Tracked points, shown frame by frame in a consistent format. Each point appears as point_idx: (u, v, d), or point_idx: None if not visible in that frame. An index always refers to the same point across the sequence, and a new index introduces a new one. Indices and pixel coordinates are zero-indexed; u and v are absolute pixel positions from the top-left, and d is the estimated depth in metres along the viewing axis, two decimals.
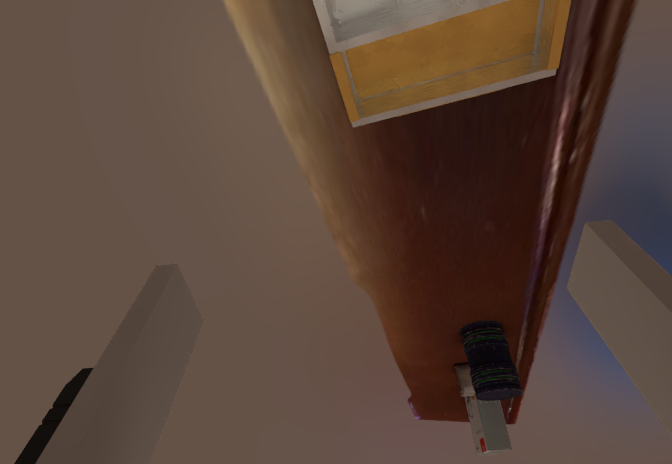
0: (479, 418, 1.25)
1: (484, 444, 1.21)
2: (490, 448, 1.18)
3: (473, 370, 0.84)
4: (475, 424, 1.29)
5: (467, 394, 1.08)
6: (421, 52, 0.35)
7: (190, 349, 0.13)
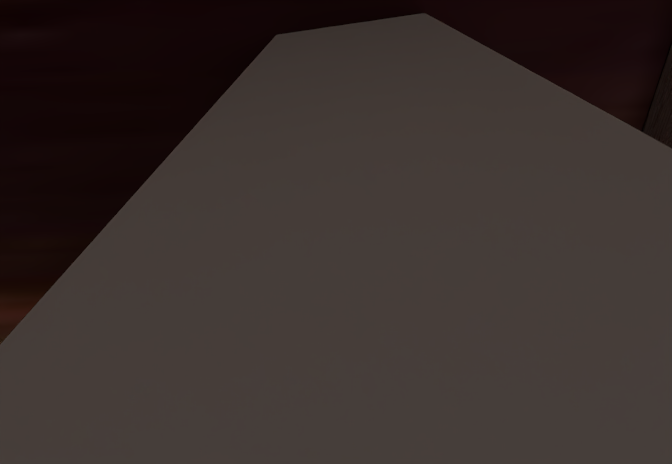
0: None
1: None
2: None
3: None
4: None
5: None
6: None
7: None
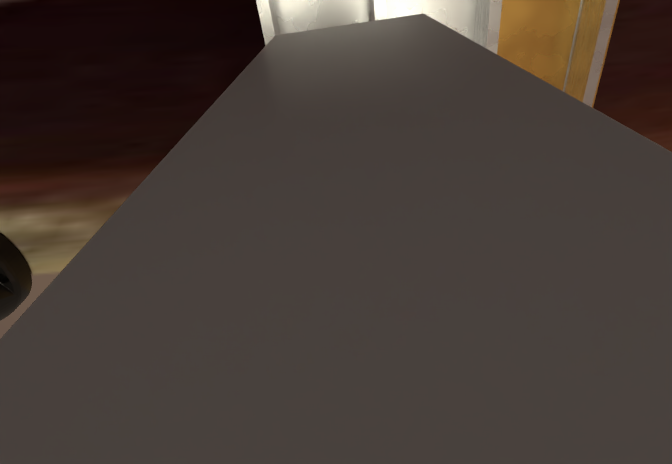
0: None
1: None
2: None
3: None
4: None
5: None
6: None
7: None
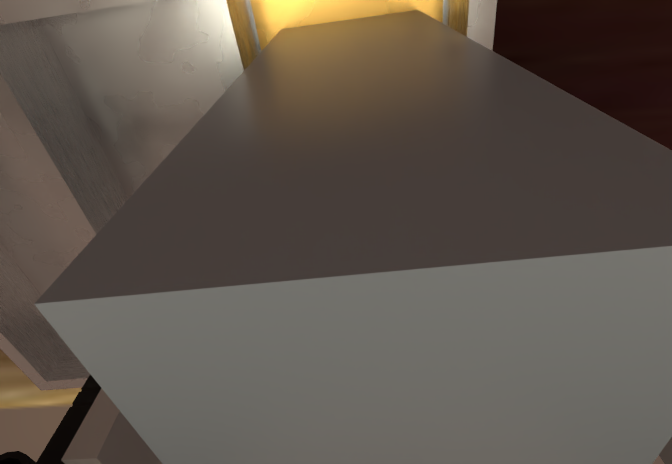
0: None
1: None
2: None
3: None
4: None
5: None
6: None
7: None
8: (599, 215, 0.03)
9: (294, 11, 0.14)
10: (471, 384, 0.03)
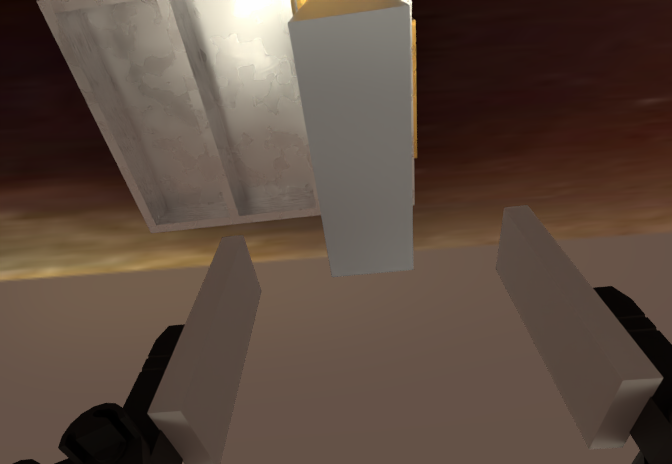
0: None
1: None
2: None
3: None
4: None
5: None
6: None
7: (253, 315, 0.14)
8: (382, 7, 0.16)
9: None
10: (364, 47, 0.16)
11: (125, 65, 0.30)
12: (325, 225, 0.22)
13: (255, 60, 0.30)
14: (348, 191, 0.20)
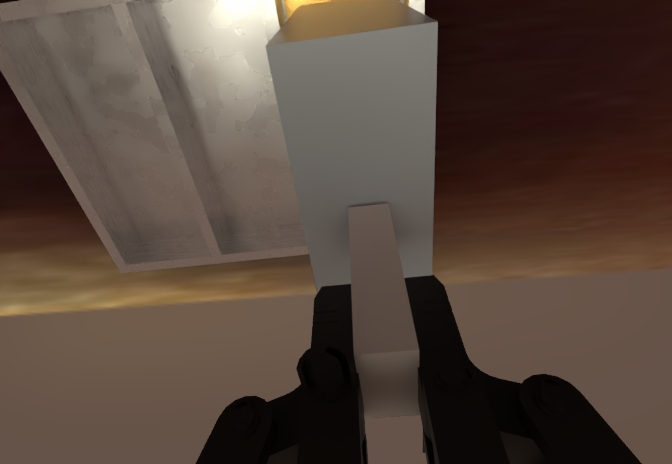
0: None
1: None
2: None
3: None
4: None
5: None
6: None
7: None
8: (399, 25, 0.11)
9: None
10: (373, 78, 0.12)
11: (84, 84, 0.25)
12: None
13: (237, 78, 0.25)
14: (349, 257, 0.16)
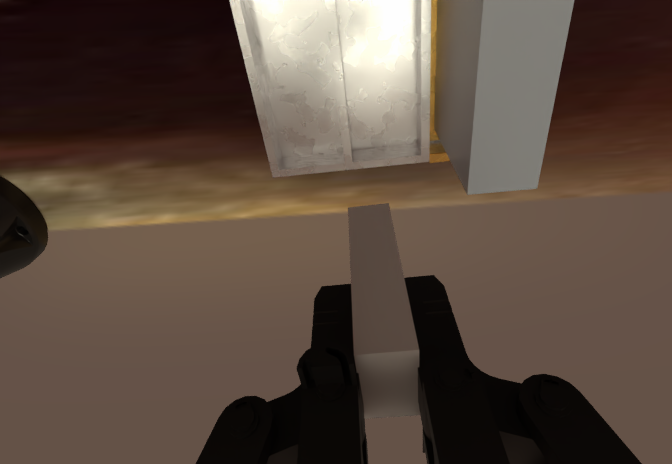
0: None
1: None
2: None
3: None
4: None
5: None
6: None
7: None
8: None
9: None
10: None
11: (271, 26, 0.35)
12: (473, 145, 0.27)
13: (382, 22, 0.35)
14: (499, 115, 0.25)
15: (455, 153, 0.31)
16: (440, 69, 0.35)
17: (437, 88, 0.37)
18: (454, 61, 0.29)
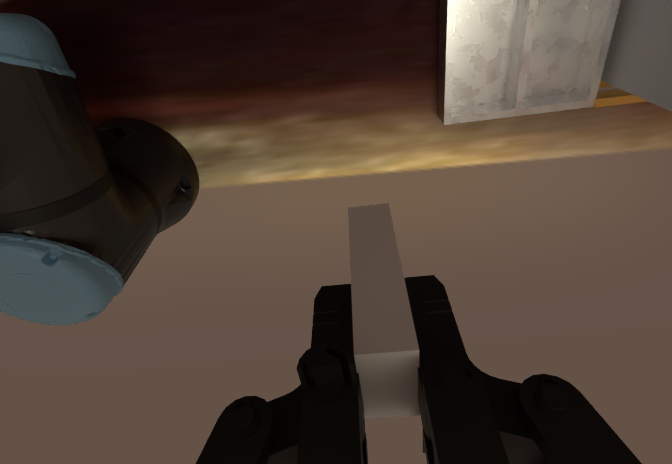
0: None
1: None
2: None
3: None
4: None
5: None
6: None
7: None
8: None
9: None
10: None
11: None
12: None
13: None
14: None
15: (656, 86, 0.35)
16: (623, 15, 0.38)
17: None
18: None
